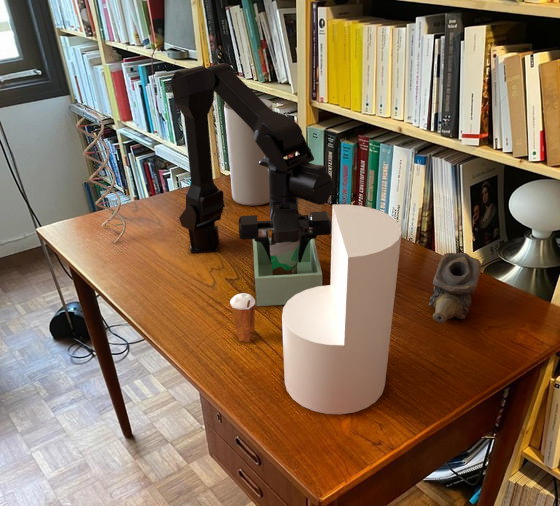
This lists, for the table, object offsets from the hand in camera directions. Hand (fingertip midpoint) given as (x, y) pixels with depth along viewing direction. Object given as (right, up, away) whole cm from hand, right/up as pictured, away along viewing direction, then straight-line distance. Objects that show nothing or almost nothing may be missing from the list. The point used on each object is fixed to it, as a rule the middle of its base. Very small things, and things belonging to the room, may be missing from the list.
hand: (285, 262), depth 120 cm
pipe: (+32, -13, -10) cm, 36 cm away
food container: (+1, -2, +2) cm, 3 cm away
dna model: (-43, +11, +24) cm, 51 cm away
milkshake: (-8, -17, -12) cm, 23 cm away
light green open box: (0, -4, +3) cm, 5 cm away
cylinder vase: (-9, +26, +41) cm, 50 cm away
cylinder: (+8, -25, -23) cm, 35 cm away
